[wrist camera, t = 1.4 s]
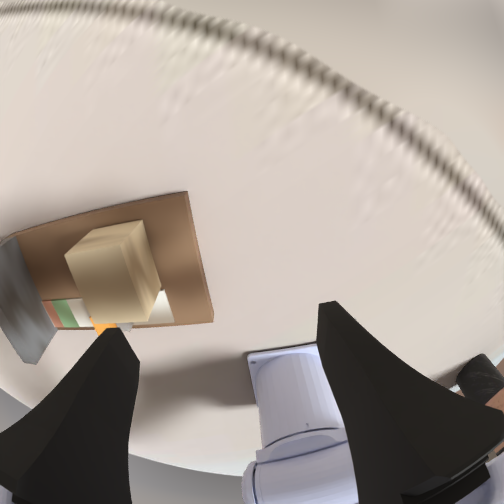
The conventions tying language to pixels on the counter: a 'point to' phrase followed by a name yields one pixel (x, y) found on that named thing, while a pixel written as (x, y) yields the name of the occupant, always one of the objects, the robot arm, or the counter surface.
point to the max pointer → (102, 326)
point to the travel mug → (483, 385)
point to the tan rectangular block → (116, 274)
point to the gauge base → (64, 287)
